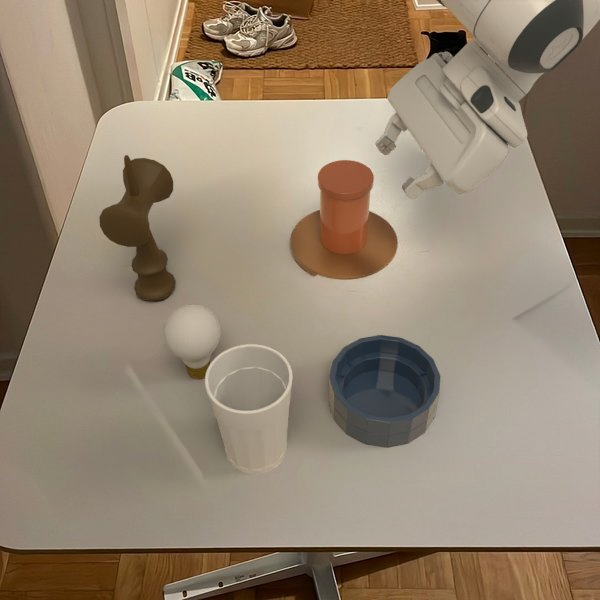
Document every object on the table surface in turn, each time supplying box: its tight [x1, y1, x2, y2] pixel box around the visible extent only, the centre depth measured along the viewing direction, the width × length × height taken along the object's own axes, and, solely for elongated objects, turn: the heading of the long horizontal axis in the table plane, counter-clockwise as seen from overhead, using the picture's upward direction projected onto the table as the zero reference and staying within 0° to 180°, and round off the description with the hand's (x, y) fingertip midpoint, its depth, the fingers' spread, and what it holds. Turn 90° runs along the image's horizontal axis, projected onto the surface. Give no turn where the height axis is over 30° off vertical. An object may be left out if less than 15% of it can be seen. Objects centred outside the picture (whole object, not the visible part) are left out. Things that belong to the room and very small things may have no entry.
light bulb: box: [163, 303, 221, 380], centre depth 79 cm, size 6×6×10 cm
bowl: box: [328, 334, 442, 448], centre depth 77 cm, size 11×11×5 cm
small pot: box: [317, 159, 375, 254], centre depth 93 cm, size 7×7×10 cm
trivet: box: [290, 209, 399, 281], centre depth 97 cm, size 14×14×1 cm
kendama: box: [98, 154, 176, 302], centre depth 85 cm, size 6×10×20 cm, turn 171°
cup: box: [204, 343, 294, 475], centre depth 71 cm, size 8×8×12 cm
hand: (392, 171), depth 90 cm, fingers open, 8 cm apart
